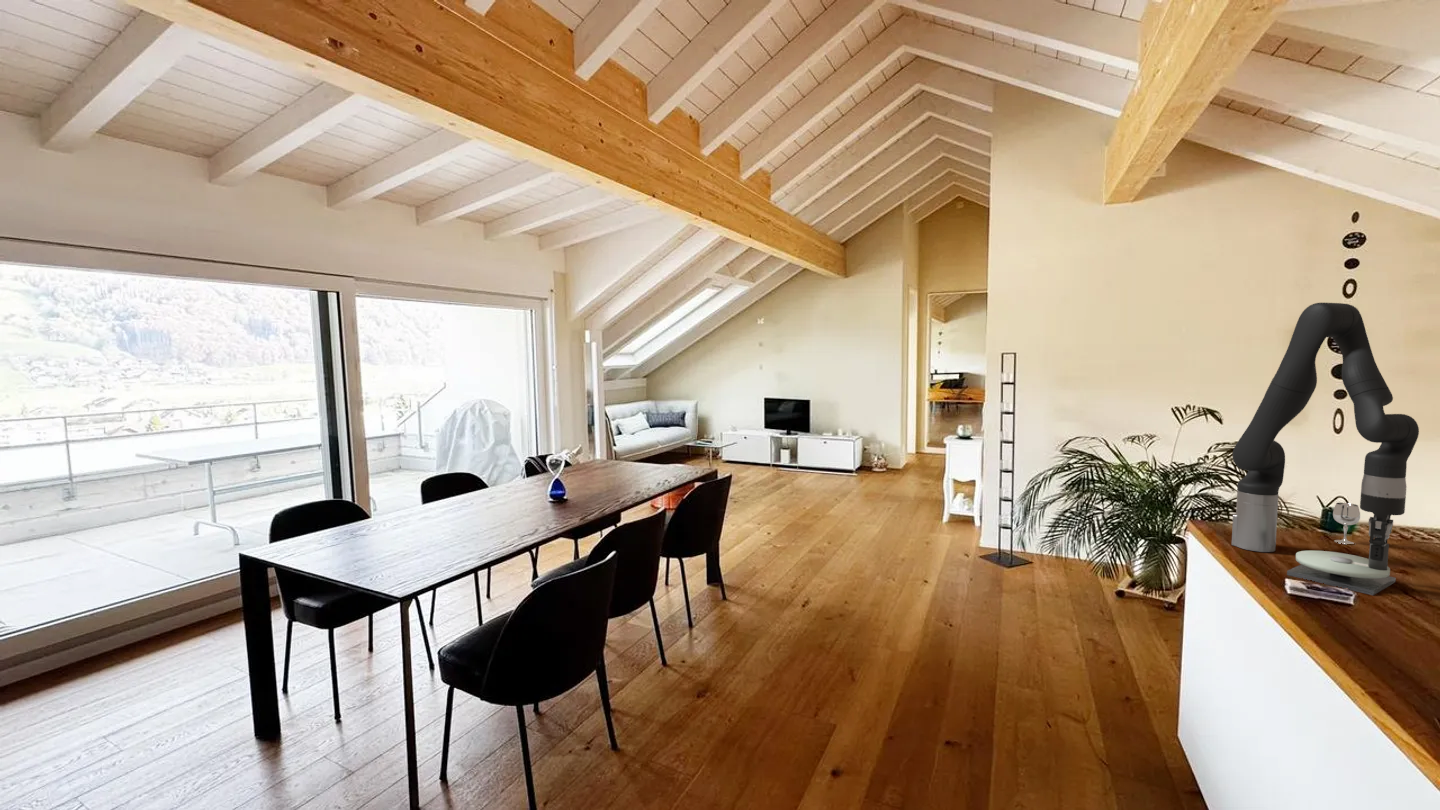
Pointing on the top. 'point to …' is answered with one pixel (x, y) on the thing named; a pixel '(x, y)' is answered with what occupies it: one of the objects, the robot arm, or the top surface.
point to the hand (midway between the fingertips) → (1378, 556)
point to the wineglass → (1346, 517)
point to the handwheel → (1345, 563)
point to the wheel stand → (1342, 580)
